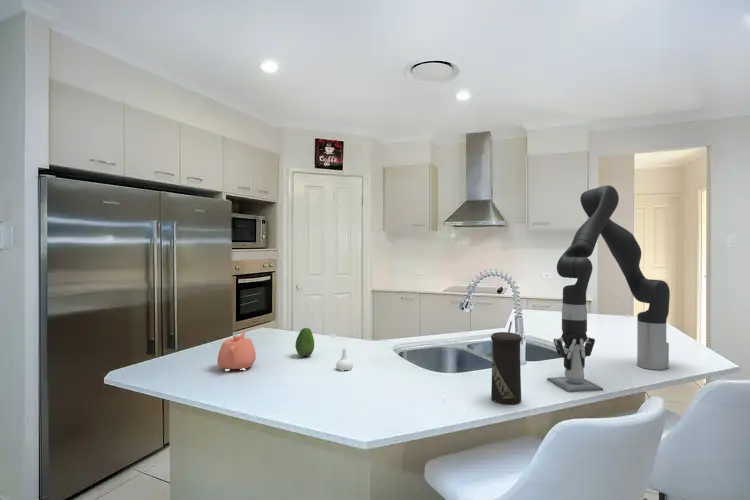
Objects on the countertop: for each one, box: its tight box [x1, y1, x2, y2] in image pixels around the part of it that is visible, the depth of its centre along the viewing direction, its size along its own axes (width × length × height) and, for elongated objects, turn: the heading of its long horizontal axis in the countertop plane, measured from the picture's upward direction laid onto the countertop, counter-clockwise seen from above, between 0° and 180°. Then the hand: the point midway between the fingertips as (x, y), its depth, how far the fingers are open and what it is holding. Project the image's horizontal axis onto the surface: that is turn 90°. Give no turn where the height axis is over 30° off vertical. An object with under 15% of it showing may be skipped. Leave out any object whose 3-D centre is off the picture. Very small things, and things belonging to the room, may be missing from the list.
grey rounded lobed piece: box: [564, 344, 585, 384], centre depth 137 cm, size 6×6×13 cm
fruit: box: [294, 327, 315, 357], centre depth 173 cm, size 8×8×12 cm
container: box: [490, 331, 523, 405], centre depth 124 cm, size 9×9×20 cm
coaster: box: [546, 376, 604, 393], centre depth 137 cm, size 12×12×1 cm
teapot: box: [216, 331, 257, 370], centre depth 158 cm, size 13×20×12 cm, turn 5°
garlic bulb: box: [335, 348, 354, 371], centre depth 156 cm, size 6×6×8 cm
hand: (574, 368), depth 137 cm, fingers open, 4 cm apart
